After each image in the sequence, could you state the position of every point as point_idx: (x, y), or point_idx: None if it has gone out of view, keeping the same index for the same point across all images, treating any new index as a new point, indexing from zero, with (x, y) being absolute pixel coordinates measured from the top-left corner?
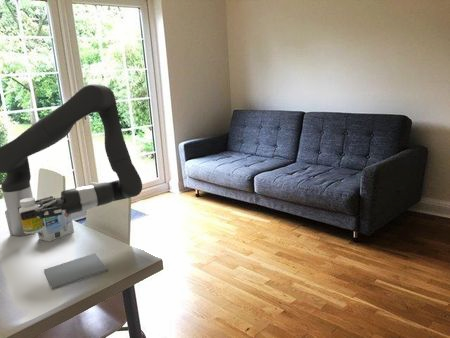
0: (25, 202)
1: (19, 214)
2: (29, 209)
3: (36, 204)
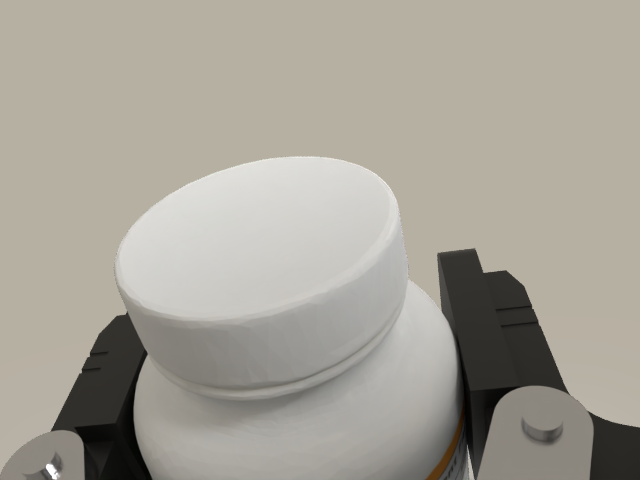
0: (143, 224)
1: None
2: (147, 355)
3: (326, 456)
